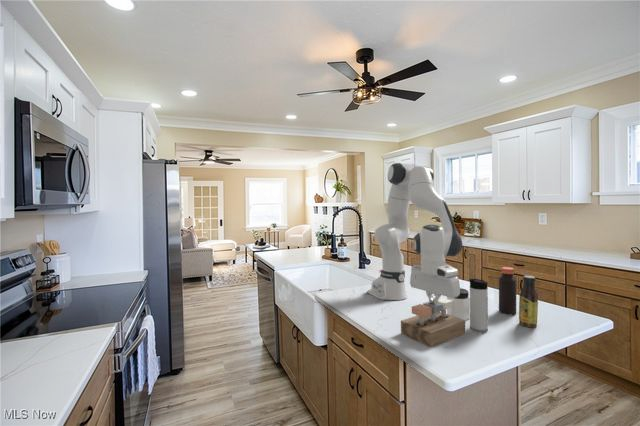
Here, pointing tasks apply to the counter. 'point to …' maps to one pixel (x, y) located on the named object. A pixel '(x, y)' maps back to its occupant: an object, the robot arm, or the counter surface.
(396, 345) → the counter surface
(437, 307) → the key slate
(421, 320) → the key terracotta
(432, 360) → the counter surface
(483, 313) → the travel mug
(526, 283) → the sauce bottle
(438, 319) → the keypad base
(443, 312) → the cream block
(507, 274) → the vinegar
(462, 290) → the jar
